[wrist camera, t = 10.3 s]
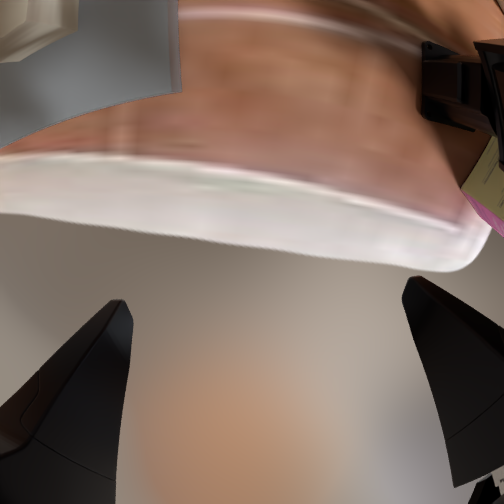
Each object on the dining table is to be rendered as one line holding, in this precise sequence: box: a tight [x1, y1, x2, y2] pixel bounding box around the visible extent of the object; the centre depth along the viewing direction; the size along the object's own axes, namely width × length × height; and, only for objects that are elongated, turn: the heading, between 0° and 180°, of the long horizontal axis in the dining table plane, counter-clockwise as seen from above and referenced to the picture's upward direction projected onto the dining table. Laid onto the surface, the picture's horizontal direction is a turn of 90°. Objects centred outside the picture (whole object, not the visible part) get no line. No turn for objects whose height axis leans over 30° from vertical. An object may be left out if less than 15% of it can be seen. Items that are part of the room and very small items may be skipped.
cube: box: [0, 0, 79, 63], centre depth 5 cm, size 5×5×5 cm
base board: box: [0, 0, 182, 149], centre depth 9 cm, size 16×16×3 cm
